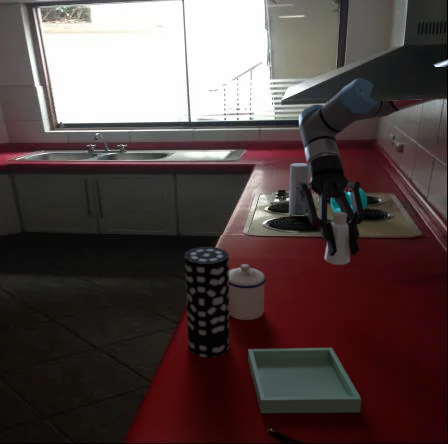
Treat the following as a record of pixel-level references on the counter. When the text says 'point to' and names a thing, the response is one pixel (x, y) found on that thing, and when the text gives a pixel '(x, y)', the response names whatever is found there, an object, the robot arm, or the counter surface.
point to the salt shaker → (339, 240)
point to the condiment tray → (301, 381)
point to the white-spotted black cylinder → (207, 301)
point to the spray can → (297, 188)
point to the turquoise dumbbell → (336, 206)
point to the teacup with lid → (246, 293)
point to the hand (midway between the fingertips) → (344, 252)
